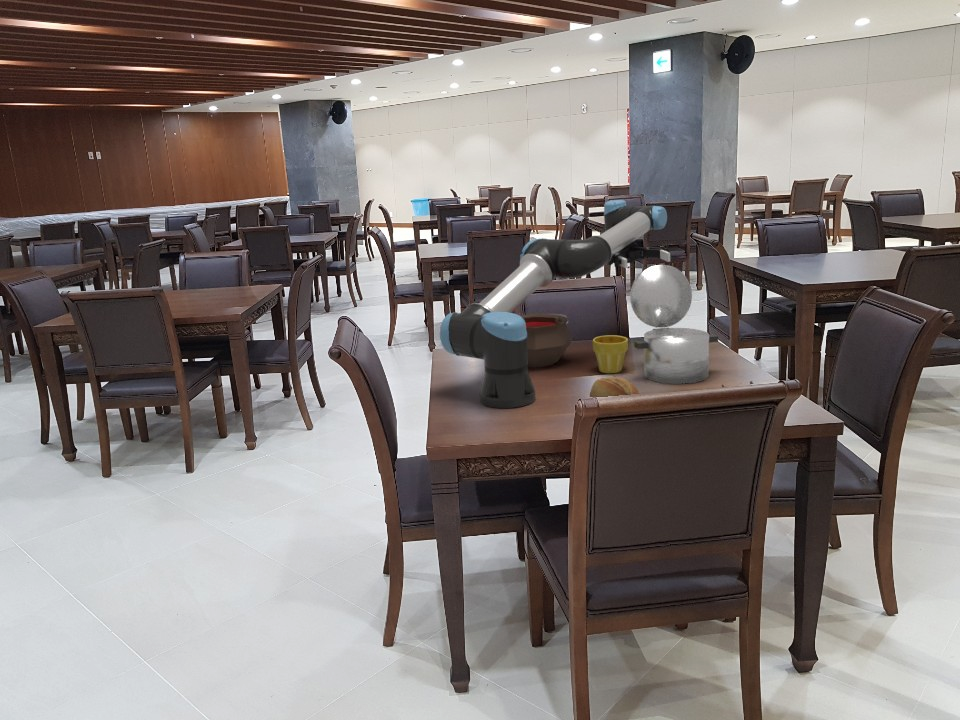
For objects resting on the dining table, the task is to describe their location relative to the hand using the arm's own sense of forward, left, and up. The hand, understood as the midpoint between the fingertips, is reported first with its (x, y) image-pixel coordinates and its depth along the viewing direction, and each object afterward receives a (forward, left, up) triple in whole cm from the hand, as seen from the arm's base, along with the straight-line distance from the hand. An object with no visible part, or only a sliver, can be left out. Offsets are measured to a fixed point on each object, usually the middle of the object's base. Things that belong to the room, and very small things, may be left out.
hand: (647, 260), depth 225 cm
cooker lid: (0, -11, -9) cm, 15 cm away
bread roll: (-26, -44, -31) cm, 60 cm away
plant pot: (-16, -11, -31) cm, 37 cm away
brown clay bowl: (-35, +7, -31) cm, 47 cm away
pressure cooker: (0, -21, -31) cm, 37 cm away
